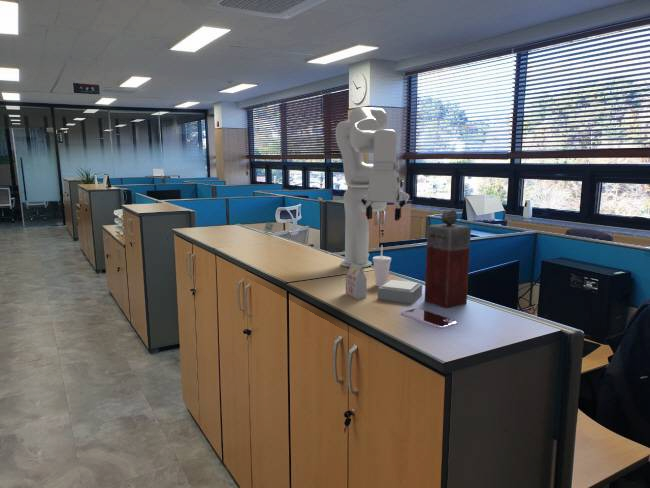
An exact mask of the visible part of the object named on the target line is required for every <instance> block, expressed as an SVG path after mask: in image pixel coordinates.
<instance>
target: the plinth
mask: <svg viewBox="0 0 650 488" xmlns="http://www.w3.org/2000/svg"><path fill="white" fill-rule="evenodd" d="M422 295H423V284H422V283H419V282H413V281H404V280H397V279H390V280H387V282H386V283H385V284H383V285H382V286H380V287H379V286H378V288H377V300H383V301H391V302H396V303H405V304H412V305H413V304H414V303H415V302H416V301H417V300H418V299H419V298H421V296H422Z"/></svg>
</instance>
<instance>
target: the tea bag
mask: <svg viewBox="0 0 650 488" xmlns="http://www.w3.org/2000/svg"><path fill="white" fill-rule="evenodd" d="M363 269H364V268H362V267H361V266H358V265H356V264H353V263H350V267H348V270H347V273H346V275H345V295H347V296H350V297H351V298H353V299H355V300H358V299H359V300H360V299H366V298H367V278H366V275H365V273H364V270H363Z"/></svg>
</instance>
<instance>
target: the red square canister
mask: <svg viewBox="0 0 650 488" xmlns="http://www.w3.org/2000/svg"><path fill="white" fill-rule="evenodd" d="M441 220H442V222H443V223H438V224H430V225H428V226H427V234H426V235H427V236H426V258H425V259H426V261H425V280H424V281H425V282H424V302H426V303H430V304H432V305H435V306H437V307H441V308H444V309H449V308H453V307H454V308H455V307H457V306H462V305H466V304H467V300H468V287H469V286H468V284H469V270H470V269H469V268H470V267H469V265H470V250H471V249H470V248H471V234H472V233H471V232H472V230H471V229H472V228H471V227H470V226H468V225H464V224H463V225H462V224H456V222H457V220H458V214H457V212H456V210H454V209H445V210H444V211H443V212H442V214H441Z"/></svg>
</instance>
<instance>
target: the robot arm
mask: <svg viewBox="0 0 650 488" xmlns="http://www.w3.org/2000/svg"><path fill="white" fill-rule="evenodd" d="M387 124H388V115H387V112H386V111H385V110H384V109H383V108H381V107H366V106H365V107H364V106H361V107H355V108H354V109H352V110H351V111H350V113H349V116H348V119H347V120H341V121H340V122H338V123H337V124H336V127H335V141H336V144H337V146H338V149H339V151H340V155H341V157H342V165H343V175H344V180H345V184H346V186H348V187H351V188H348V189H347V190H345V192H344V194H343V205H344V206H343V207H344V215H345V221H344V222H345V223H344V224H345V225H344V226H345V227H344V230H345V231H344V232H345V233H344V235H345V239H344V242H345V243H344V244H345V245H344V246H345V247H344V260H342V261H341V262H340V264H341V266H343V267H346V268H349V267H350V263H353V264H356V265H358V266H361V267H362V269H364V268H369V266H370V267H371V266H372V264H373V261H370V260H369V257H370V253H369V236H370V235H369V233H370V232H369V231H370V229H369V228H370V224H369V220H371V219H373V212H381V211H384V210H385V209H386V208H387V204H388V203H392V204H393V205H394V206H395V208H394V220H395V221H396V222H398V221H400V219H401V217H402V208H403V207H404V206H405V205H407V202H408V200H409V199H410V196H411V195H410V194H409V193H407V192H406V191H405V192H404V191H403V190H401V183H400V175H399V171H397V170H398V169H401V164H398V163H397V142H398V141H397V135H398V133H397V131H396V130H394V129H390V128H389V129H388V128H386V126H387ZM364 154H372V157H373V158H372V163H365V162H364ZM401 197H403V198H402V200H401V202H400V199H401ZM364 213H365V214H364Z"/></svg>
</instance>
